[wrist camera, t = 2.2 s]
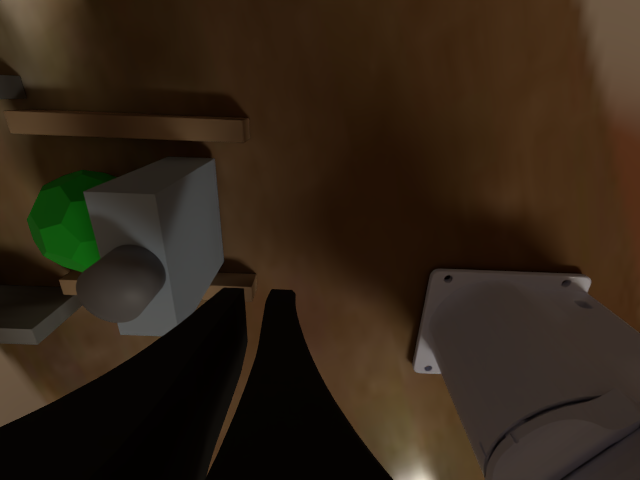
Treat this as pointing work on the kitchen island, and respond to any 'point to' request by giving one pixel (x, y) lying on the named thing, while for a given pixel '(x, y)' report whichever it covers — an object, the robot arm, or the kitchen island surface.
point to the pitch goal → (61, 302)
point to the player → (153, 245)
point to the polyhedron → (66, 220)
